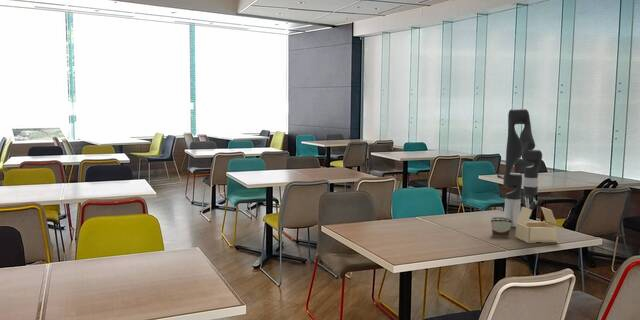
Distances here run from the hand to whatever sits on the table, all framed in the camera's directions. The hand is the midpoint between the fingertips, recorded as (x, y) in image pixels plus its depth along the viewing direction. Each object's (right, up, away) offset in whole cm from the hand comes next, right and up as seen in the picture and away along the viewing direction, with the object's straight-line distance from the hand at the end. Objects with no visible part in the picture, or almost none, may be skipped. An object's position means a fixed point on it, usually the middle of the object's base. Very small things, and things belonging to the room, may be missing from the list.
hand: (529, 216), depth 291 cm
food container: (-13, -12, +12) cm, 21 cm away
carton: (+4, -13, +2) cm, 14 cm away
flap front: (-5, -4, 0) cm, 6 cm away
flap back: (+14, -4, +2) cm, 15 cm away
